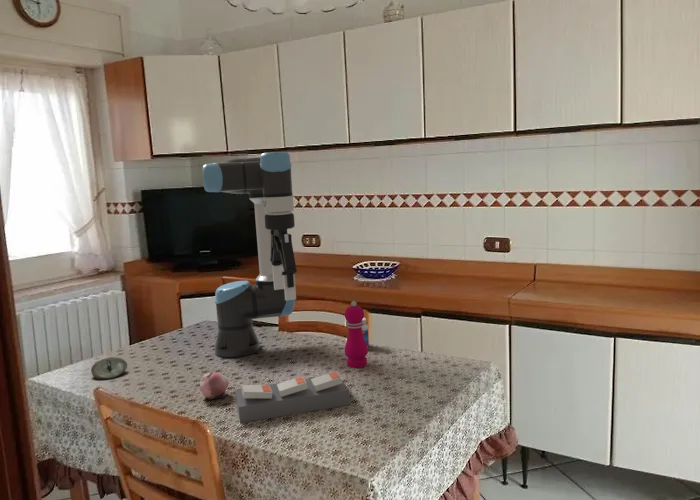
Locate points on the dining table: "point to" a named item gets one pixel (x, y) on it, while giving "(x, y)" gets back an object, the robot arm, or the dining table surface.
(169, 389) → the dining table surface
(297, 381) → the rocker
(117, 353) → the dining table surface
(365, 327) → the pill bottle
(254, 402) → the switch panel
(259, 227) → the robot arm
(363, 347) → the pepper mill
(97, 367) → the lid
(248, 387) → the rocker
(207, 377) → the onion
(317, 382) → the rocker
